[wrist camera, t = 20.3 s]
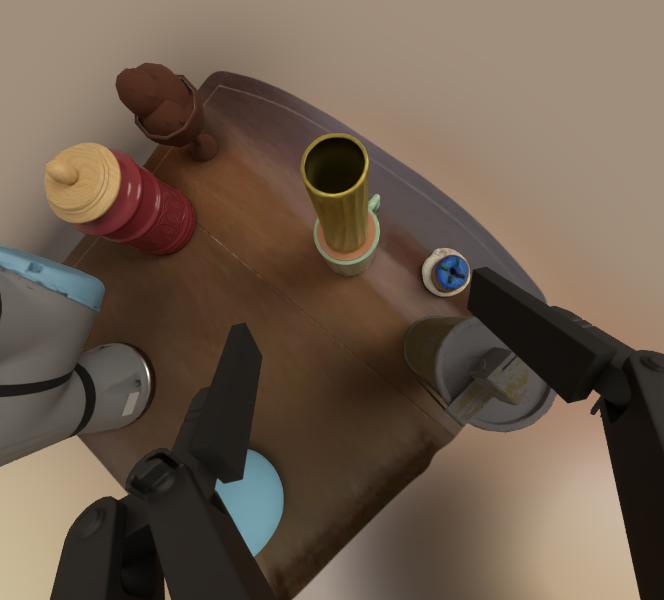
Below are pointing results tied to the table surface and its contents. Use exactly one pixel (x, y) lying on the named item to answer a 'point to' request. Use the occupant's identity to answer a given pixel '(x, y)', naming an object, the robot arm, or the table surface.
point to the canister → (476, 374)
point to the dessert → (445, 272)
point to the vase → (338, 189)
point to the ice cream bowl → (166, 108)
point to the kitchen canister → (117, 199)
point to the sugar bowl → (254, 501)
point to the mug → (359, 259)
